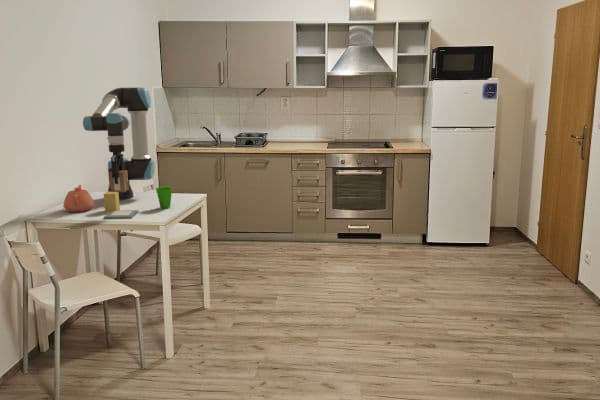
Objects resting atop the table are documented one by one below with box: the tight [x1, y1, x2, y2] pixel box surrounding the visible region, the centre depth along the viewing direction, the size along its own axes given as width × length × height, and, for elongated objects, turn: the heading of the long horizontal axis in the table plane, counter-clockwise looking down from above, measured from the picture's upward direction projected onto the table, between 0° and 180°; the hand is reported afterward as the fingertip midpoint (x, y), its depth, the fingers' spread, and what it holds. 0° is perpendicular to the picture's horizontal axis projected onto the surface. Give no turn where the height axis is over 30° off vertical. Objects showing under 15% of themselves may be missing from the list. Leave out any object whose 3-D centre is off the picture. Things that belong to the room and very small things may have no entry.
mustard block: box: [103, 191, 121, 213], centre depth 293 cm, size 6×6×10 cm
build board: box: [103, 209, 140, 220], centre depth 284 cm, size 14×14×1 cm
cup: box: [155, 186, 174, 210], centre depth 300 cm, size 9×9×11 cm
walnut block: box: [109, 170, 129, 192], centre depth 280 cm, size 7×7×10 cm
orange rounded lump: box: [63, 184, 95, 213], centre depth 296 cm, size 22×15×12 cm
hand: (119, 188), depth 281 cm, fingers closed on walnut block, 7 cm apart
